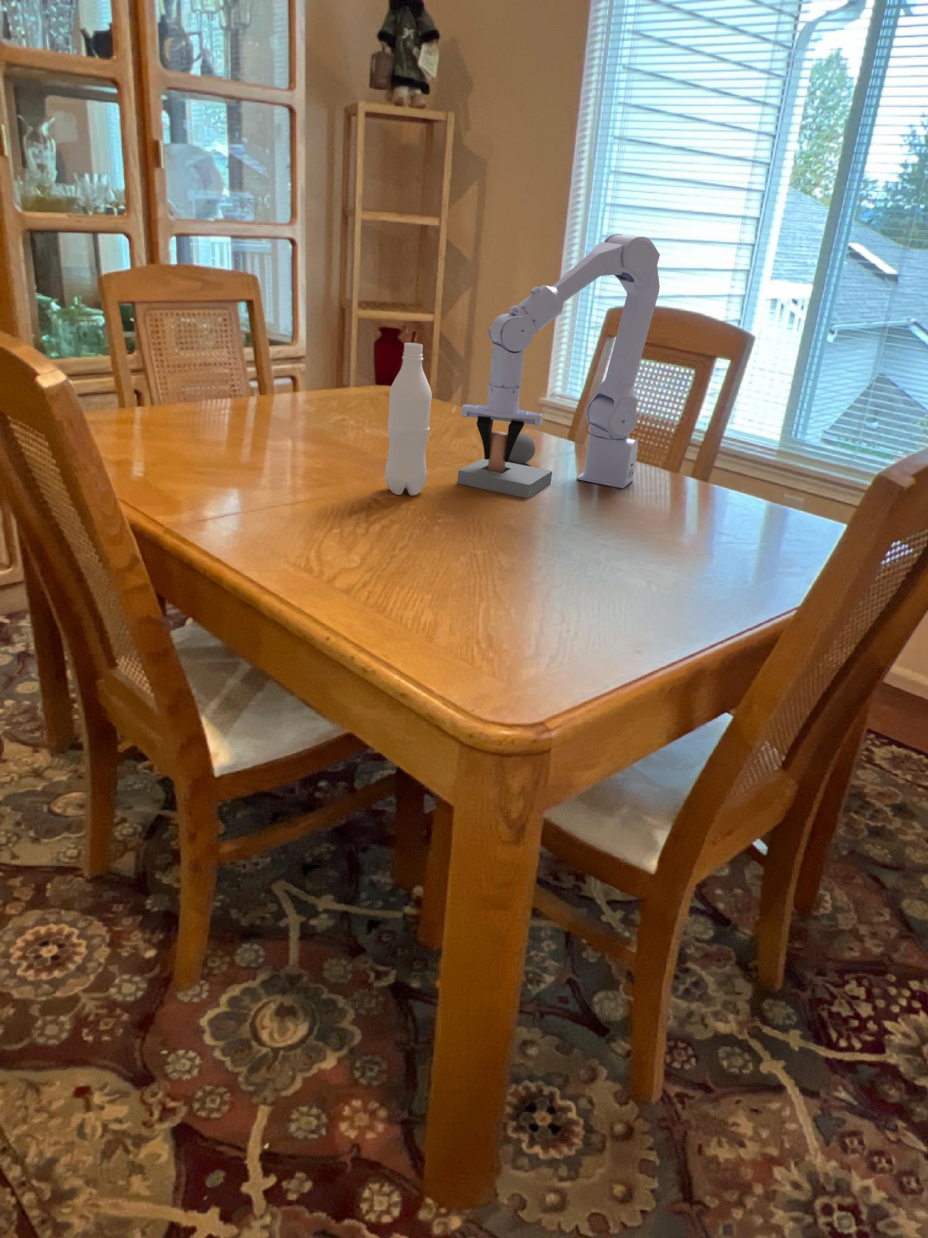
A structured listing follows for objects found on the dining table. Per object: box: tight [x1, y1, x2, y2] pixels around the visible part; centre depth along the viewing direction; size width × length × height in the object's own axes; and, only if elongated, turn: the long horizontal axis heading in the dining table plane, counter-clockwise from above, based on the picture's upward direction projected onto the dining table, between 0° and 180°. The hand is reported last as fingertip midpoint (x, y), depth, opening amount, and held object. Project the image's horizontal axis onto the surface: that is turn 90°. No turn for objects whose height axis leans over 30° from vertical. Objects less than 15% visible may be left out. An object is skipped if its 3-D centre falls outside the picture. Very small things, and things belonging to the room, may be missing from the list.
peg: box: [488, 431, 508, 473], centre depth 164 cm, size 3×3×8 cm
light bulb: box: [509, 433, 536, 465], centre depth 181 cm, size 6×6×10 cm
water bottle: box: [384, 342, 433, 497], centre depth 150 cm, size 7×7×25 cm
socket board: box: [456, 457, 553, 499], centre depth 165 cm, size 14×12×2 cm
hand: (497, 459), depth 165 cm, fingers closed on peg, 3 cm apart
